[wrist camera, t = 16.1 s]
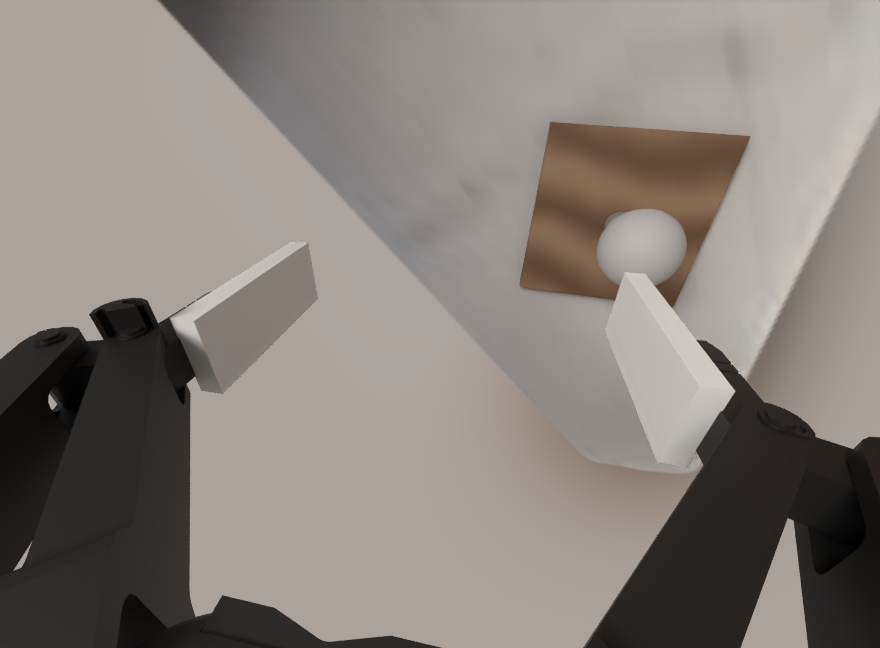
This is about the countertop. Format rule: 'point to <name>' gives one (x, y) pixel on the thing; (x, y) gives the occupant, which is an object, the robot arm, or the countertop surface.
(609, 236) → the lightbulb
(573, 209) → the plate
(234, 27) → the countertop surface
